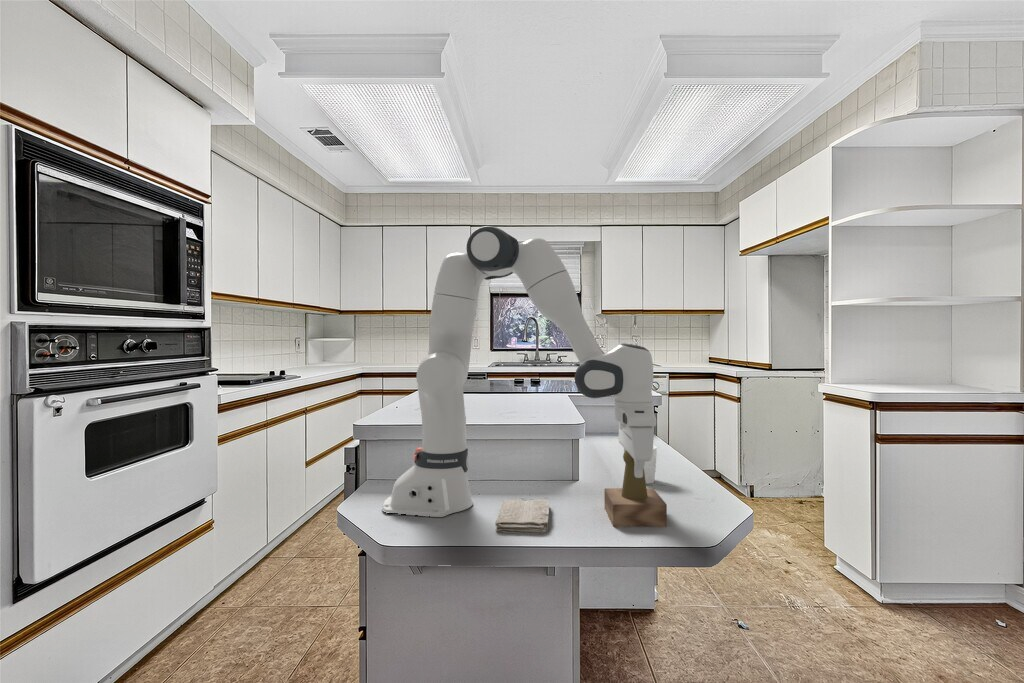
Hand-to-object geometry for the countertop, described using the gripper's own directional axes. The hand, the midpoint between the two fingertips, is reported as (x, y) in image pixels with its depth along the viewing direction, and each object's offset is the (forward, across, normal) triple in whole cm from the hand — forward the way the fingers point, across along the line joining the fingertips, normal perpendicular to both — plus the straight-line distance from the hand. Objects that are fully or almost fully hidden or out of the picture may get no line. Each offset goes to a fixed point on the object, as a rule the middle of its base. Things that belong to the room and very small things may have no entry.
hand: (633, 471), depth 125 cm
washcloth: (+12, +1, -26) cm, 28 cm away
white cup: (+11, -30, +9) cm, 33 cm away
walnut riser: (+11, 0, 0) cm, 11 cm away
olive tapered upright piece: (+6, 0, 0) cm, 6 cm away
